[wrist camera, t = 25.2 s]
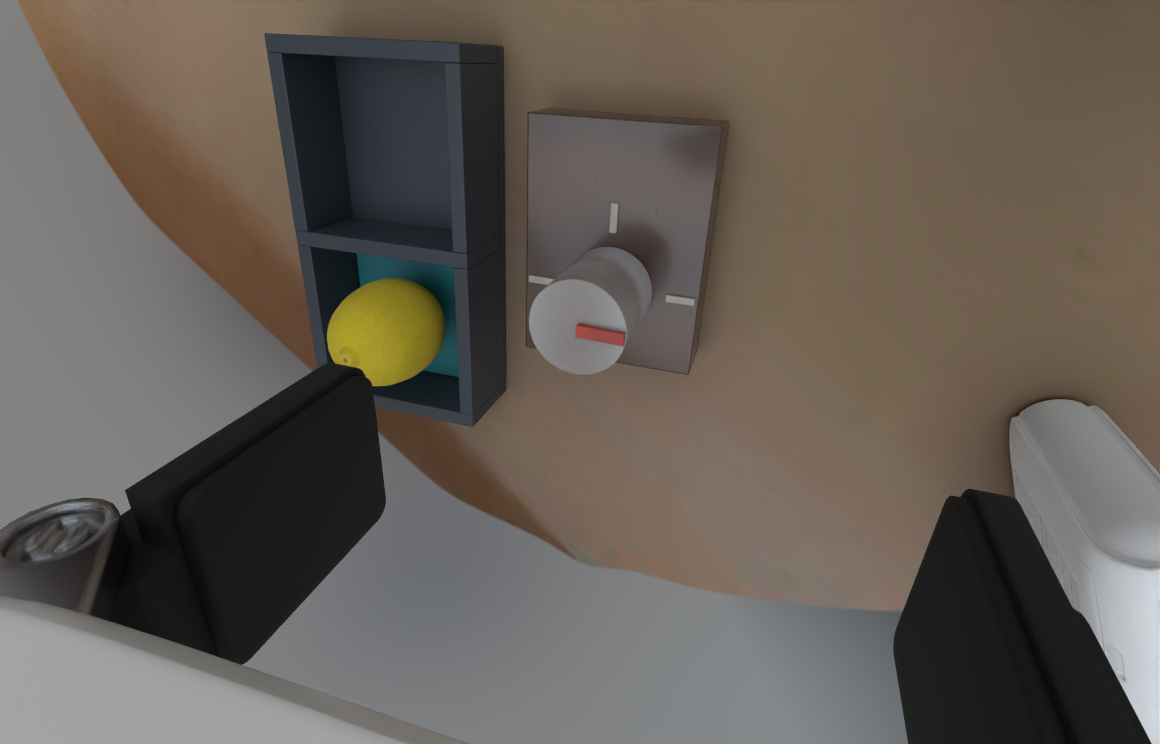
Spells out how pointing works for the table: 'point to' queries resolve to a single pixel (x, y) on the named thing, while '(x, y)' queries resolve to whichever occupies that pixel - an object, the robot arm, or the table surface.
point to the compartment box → (401, 196)
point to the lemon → (387, 330)
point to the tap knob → (591, 311)
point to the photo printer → (1097, 533)
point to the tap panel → (628, 213)
